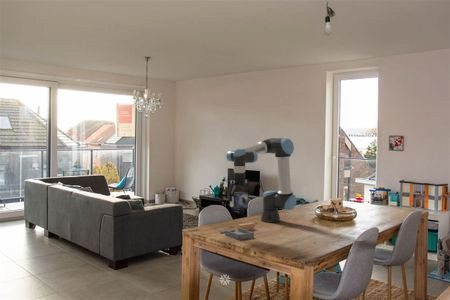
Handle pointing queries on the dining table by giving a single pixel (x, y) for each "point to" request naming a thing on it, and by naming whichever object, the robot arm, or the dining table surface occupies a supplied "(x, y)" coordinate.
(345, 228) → the dining table surface
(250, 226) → the bar
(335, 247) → the dining table surface
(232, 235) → the tray
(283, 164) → the robot arm
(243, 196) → the small box
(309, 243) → the dining table surface
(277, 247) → the dining table surface
